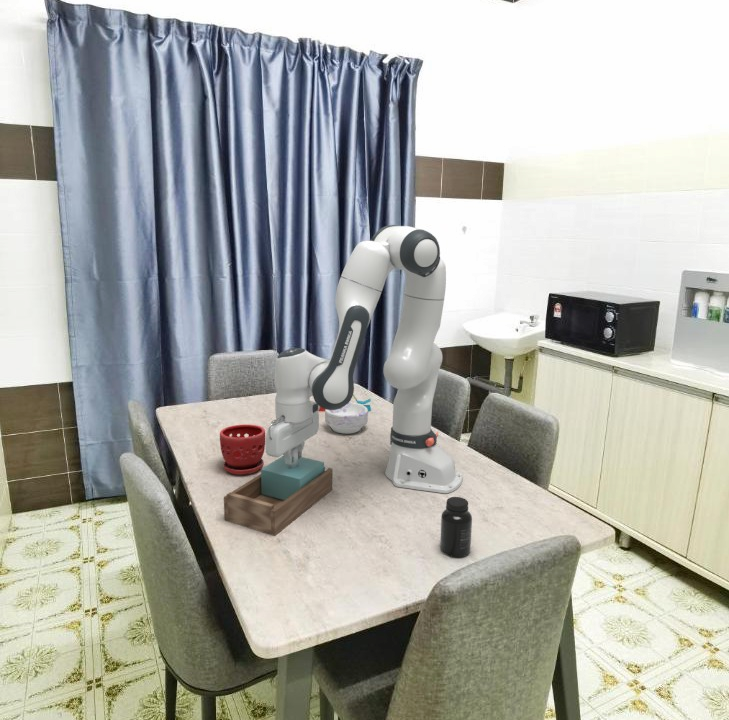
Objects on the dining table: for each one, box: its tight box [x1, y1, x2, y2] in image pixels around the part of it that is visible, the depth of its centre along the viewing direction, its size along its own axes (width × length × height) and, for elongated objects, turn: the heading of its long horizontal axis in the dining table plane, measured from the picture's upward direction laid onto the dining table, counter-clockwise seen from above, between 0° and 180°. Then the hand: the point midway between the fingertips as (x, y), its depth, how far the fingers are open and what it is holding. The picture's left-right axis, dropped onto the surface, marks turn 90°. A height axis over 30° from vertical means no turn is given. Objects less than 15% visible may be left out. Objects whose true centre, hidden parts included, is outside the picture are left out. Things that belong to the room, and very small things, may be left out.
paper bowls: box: [324, 401, 369, 435], centre depth 201 cm, size 15×15×8 cm
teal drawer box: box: [260, 447, 326, 500], centre depth 150 cm, size 12×12×12 cm
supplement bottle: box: [439, 496, 473, 558], centre depth 127 cm, size 7×7×12 cm
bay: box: [223, 467, 333, 537], centre depth 146 cm, size 15×27×7 cm, turn 154°
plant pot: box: [219, 424, 266, 476], centre depth 167 cm, size 13×13×12 cm
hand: (293, 460), depth 150 cm, fingers closed on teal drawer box, 3 cm apart
